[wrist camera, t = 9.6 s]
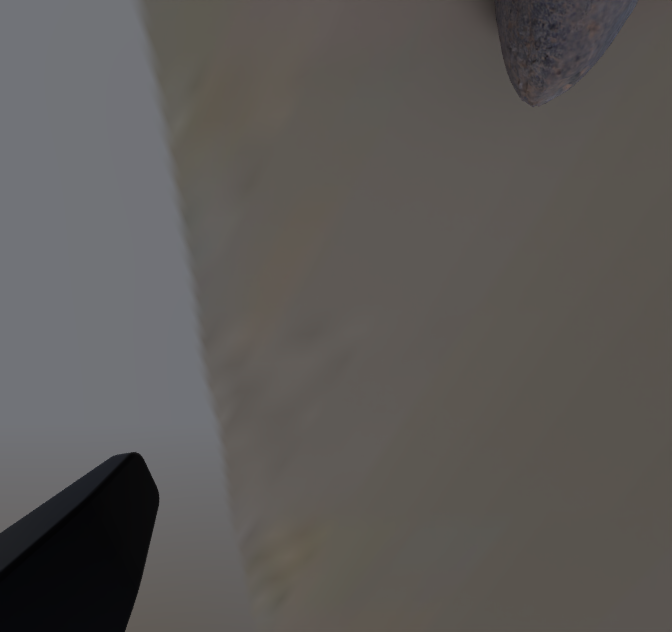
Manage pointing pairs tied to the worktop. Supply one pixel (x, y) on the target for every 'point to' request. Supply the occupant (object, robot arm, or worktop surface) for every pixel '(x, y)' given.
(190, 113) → the worktop surface
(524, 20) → the perforated stone tool
